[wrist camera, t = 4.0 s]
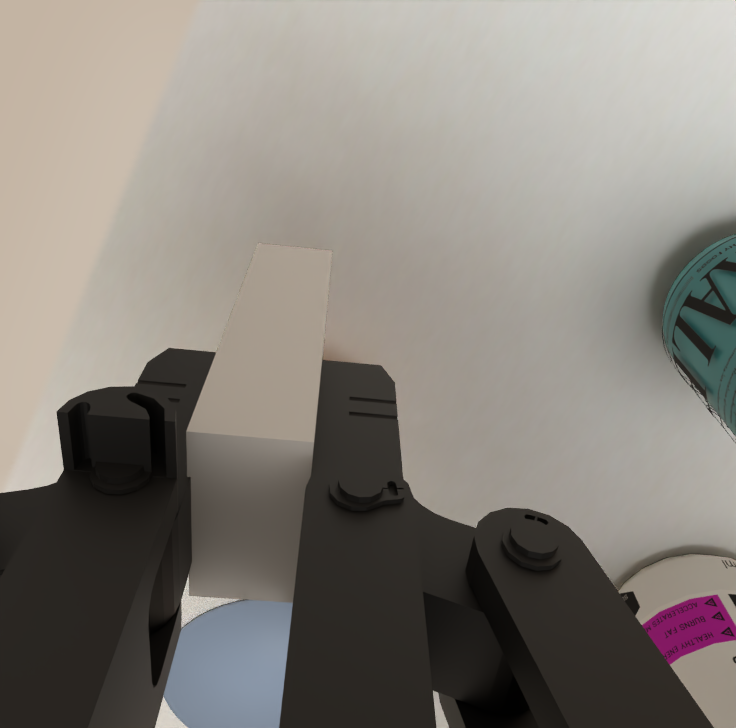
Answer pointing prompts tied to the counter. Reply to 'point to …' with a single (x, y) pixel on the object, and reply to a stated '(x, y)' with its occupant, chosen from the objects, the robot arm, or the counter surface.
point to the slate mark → (231, 666)
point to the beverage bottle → (706, 326)
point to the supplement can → (692, 625)
